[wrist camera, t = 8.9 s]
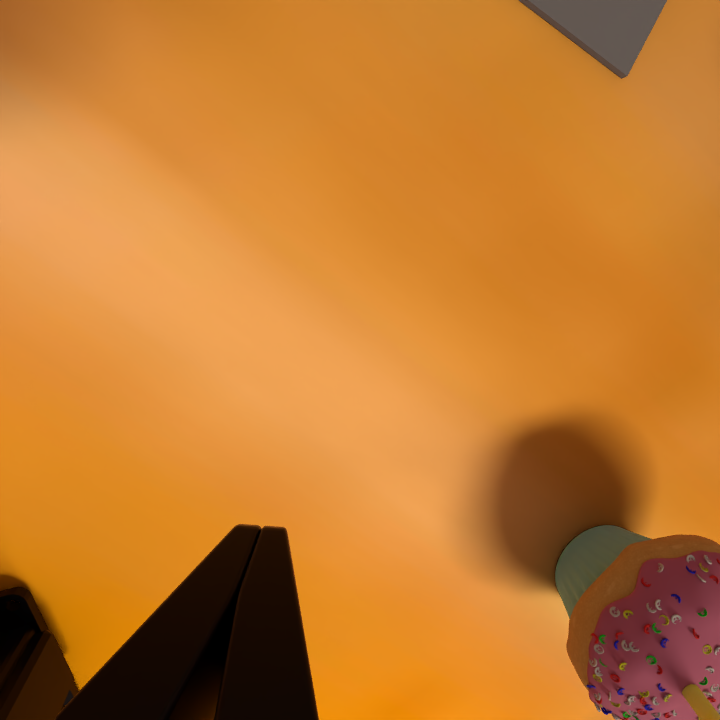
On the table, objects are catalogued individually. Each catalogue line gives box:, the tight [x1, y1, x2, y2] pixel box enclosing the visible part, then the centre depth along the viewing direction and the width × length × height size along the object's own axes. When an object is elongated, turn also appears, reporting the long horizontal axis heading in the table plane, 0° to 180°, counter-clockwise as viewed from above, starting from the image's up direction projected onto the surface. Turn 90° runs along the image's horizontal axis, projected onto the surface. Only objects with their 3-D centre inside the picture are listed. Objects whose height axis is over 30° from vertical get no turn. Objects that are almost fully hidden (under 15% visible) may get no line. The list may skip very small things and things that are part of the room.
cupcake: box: [555, 525, 720, 720], centre depth 19 cm, size 9×8×12 cm
